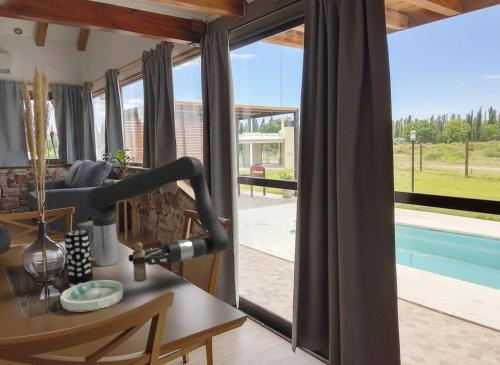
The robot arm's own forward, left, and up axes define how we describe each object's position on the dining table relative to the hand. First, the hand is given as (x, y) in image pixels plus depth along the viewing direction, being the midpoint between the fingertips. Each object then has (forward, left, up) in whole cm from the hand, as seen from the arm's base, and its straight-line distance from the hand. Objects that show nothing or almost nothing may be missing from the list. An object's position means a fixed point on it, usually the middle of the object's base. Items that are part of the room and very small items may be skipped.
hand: (131, 260), depth 134 cm
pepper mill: (-2, +2, -8) cm, 8 cm away
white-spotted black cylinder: (-3, -24, -12) cm, 27 cm away
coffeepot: (-37, -44, -12) cm, 59 cm away
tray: (+7, -11, -12) cm, 18 cm away
